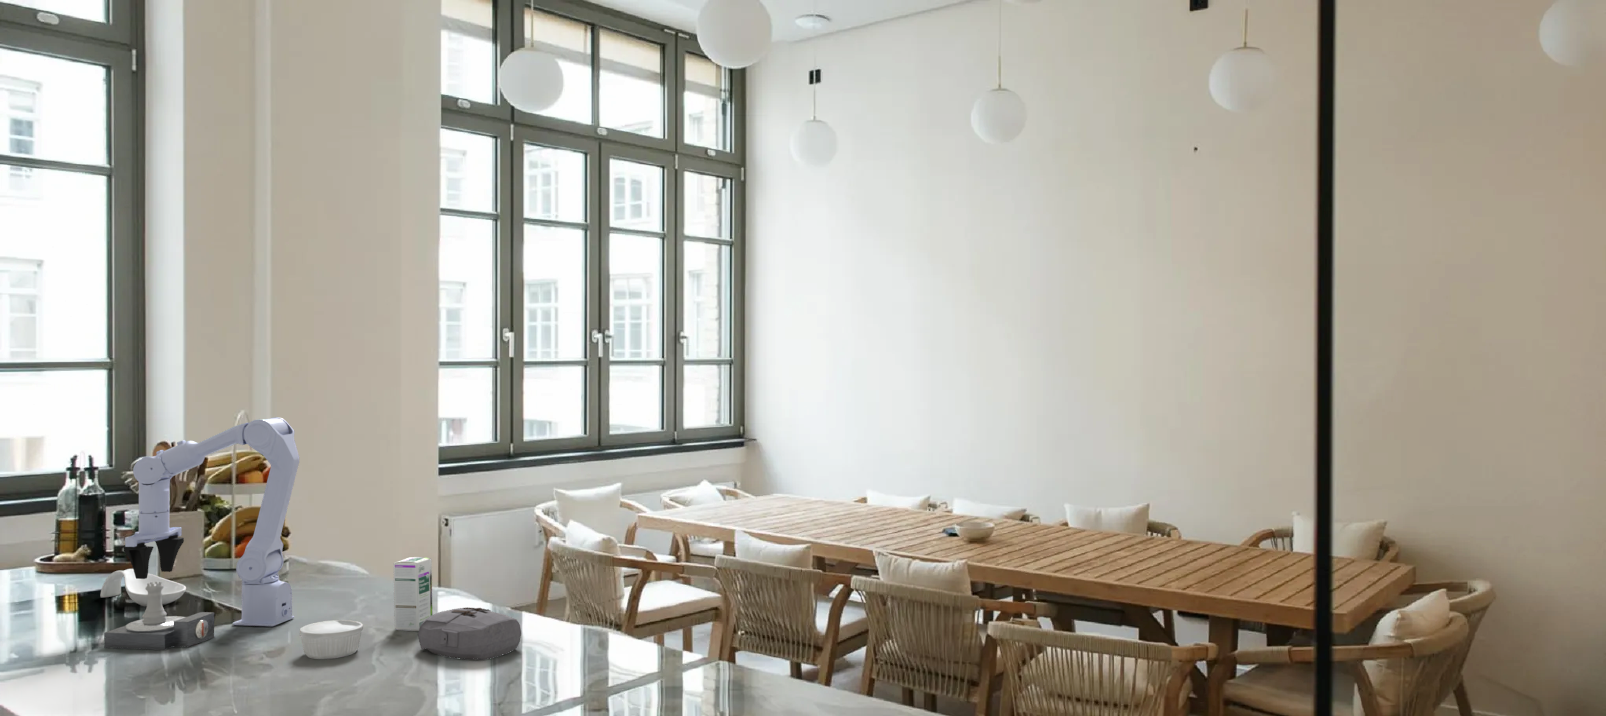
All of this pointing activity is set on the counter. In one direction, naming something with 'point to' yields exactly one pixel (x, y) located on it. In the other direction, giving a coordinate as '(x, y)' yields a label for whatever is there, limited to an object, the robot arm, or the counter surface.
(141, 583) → the spoon rest
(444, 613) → the grey rounded bag
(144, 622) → the rook chess piece
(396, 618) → the syrup box
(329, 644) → the ramekin
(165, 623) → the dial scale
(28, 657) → the counter surface
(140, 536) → the robot arm
